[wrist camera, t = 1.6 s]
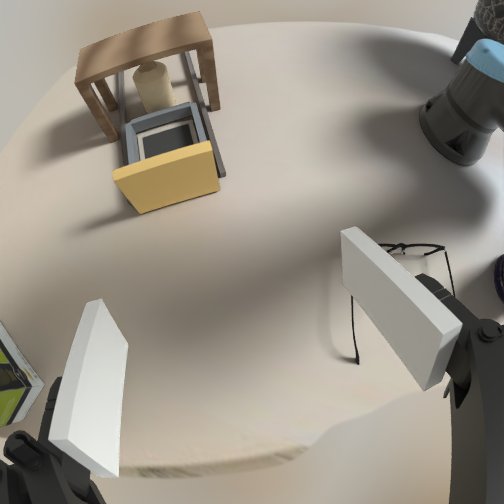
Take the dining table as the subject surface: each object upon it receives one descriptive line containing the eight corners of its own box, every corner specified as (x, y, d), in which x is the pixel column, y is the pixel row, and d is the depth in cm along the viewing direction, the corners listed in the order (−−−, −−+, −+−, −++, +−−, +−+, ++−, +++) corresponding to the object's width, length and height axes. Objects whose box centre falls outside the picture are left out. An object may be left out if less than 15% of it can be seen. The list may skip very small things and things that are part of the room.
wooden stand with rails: (198, 46, 54) (189, -12, 39) (241, 172, 45) (237, 101, 30) (110, 73, 52) (86, 20, 37) (116, 209, 43) (67, 156, 28)
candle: (178, 111, 48) (166, 70, 38) (148, 121, 48) (131, 81, 38) (173, 92, 50) (162, 51, 40) (144, 101, 49) (129, 62, 39)
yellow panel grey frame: (197, 109, 47) (188, 66, 38) (220, 190, 43) (212, 149, 34) (129, 130, 46) (109, 91, 37) (140, 214, 42) (113, 180, 33)
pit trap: (192, 119, 47) (192, 118, 47) (207, 175, 44) (207, 174, 44) (137, 136, 47) (137, 135, 46) (145, 194, 44) (145, 193, 43)
